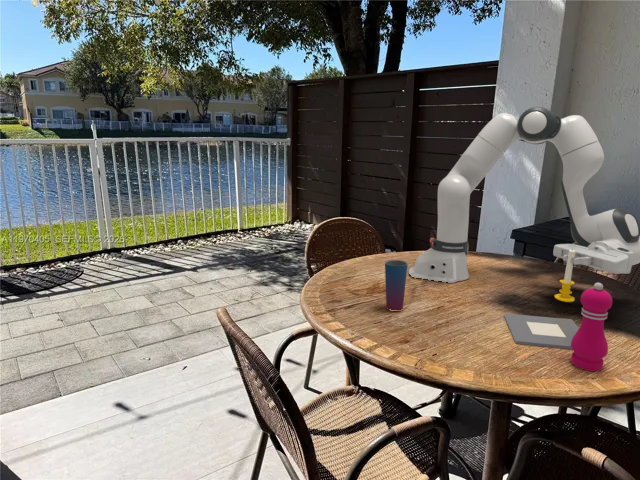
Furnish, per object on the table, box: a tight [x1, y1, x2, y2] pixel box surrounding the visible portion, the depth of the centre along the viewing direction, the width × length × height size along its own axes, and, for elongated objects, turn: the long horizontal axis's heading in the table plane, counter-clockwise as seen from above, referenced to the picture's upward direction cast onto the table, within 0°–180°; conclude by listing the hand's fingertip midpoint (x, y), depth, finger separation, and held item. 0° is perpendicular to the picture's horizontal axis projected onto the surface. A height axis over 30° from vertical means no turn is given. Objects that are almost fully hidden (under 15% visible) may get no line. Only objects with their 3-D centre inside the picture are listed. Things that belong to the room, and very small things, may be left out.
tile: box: [503, 313, 580, 351], centre depth 114 cm, size 18×18×1 cm
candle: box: [554, 249, 575, 303], centre depth 124 cm, size 5×5×16 cm
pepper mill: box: [570, 282, 613, 372], centre depth 96 cm, size 7×7×20 cm
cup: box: [384, 259, 408, 310], centre depth 129 cm, size 7×7×15 cm
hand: (569, 260), depth 122 cm, fingers closed on candle
